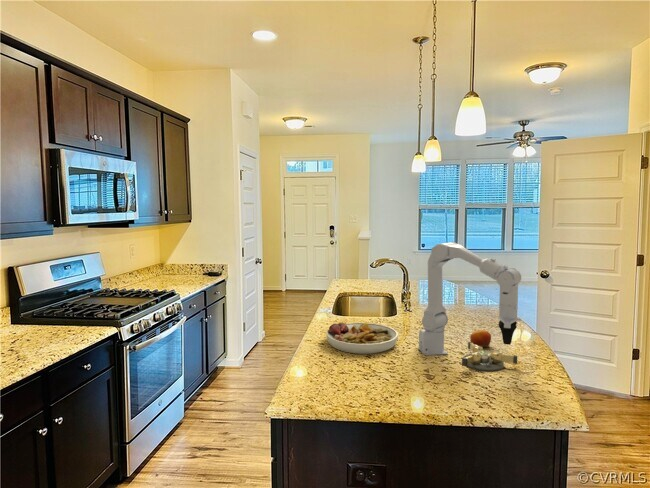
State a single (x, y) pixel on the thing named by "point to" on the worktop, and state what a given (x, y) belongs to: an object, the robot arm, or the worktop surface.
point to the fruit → (481, 338)
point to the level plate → (486, 363)
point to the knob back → (474, 347)
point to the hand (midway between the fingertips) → (507, 343)
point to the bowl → (361, 337)
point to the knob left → (472, 359)
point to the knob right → (502, 358)
